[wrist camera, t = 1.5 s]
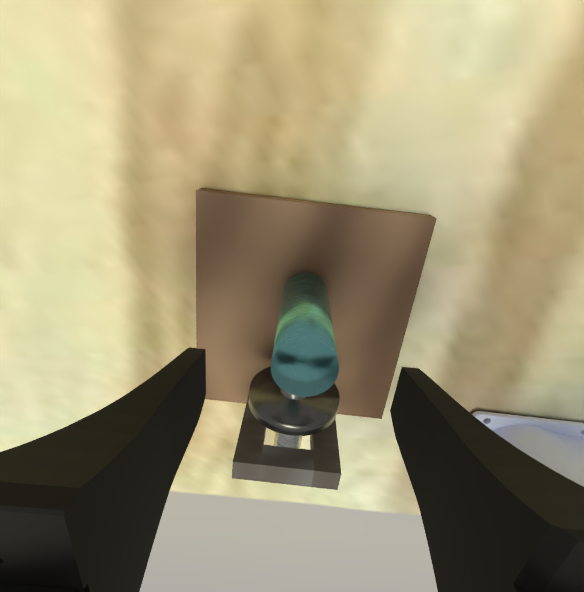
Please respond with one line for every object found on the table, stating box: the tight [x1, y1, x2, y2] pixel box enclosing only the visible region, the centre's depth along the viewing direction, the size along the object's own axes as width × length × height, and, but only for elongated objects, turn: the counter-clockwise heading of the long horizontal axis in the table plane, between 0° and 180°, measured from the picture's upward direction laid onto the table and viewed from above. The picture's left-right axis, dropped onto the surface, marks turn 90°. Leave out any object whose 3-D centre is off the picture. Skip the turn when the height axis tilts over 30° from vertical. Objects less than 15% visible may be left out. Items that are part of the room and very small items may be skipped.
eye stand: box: [196, 188, 436, 490], centre depth 19 cm, size 13×14×7 cm
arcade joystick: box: [249, 272, 340, 449], centre depth 18 cm, size 5×11×8 cm, turn 174°
